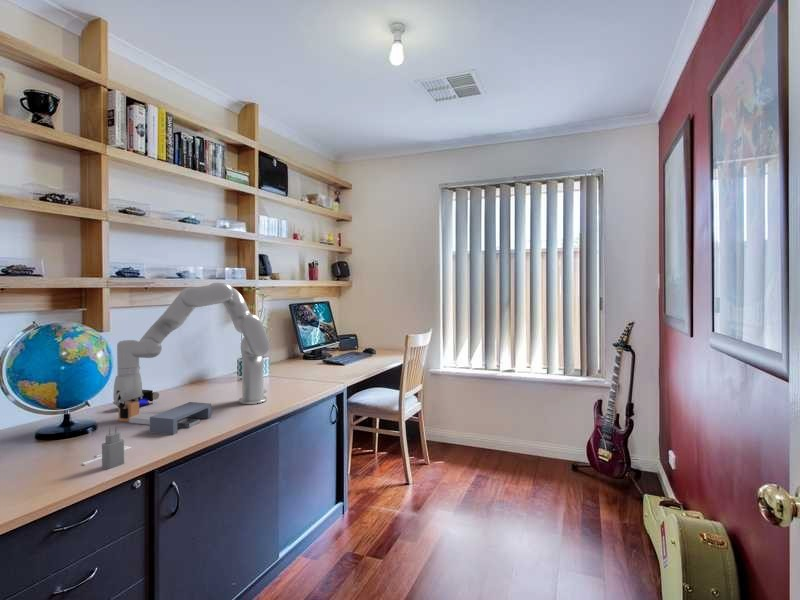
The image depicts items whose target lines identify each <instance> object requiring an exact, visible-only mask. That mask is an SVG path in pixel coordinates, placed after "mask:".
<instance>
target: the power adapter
mask: <svg viewBox="0 0 800 600" xmlns="http://www.w3.org/2000/svg"><path fill="white" fill-rule="evenodd" d="M108 429H109V431H108V434H106V435H105V439H104V440H105V442H103V443H101V454H102V459H101V467H102V469H104V470H110V469H114V468H116V467H119V466H122V465H124V464H125V451H124V446H125V440H124V439H123V438H121V431H118V429H117V425H116V424H115V428H114V429H115V431H114V432H111V426H109V428H108Z"/></svg>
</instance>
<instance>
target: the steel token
mask: <svg viewBox="0 0 800 600" xmlns="http://www.w3.org/2000/svg"><path fill="white" fill-rule="evenodd" d="M200 423H201V418H190V417H185V418H183V419H180V420H178V421H177V428H183V429H190V428H192V427H195V426H197V425H199V424H200Z"/></svg>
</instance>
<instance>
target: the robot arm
mask: <svg viewBox="0 0 800 600" xmlns="http://www.w3.org/2000/svg"><path fill="white" fill-rule="evenodd" d="M218 304H219V305H220V304H223V305H224V306H225V309H226V310H227V312H228V314H229V316H230V318H231V321H232V324H233V326H234V328H235V330H236V332H238V333H241V334H242V335H243V338H242V340H241V342H240V353H241V365H242V367H241V377H242V379H241V381H242V382H241V389H242V390H241V392H242V393H241V397H240V398H239V399H238V403H239V404H243V405H257V403H258V404H262V402H263V403H266V402H267V400H268V397H267V396H265V393H268V389H267V388H264V368H265V367H264V356H266V355H267V354H268V353H269V352H270V349H271V344H270V340H269V339H270V338H269V336H268V335H267V332H266V329H265V327H264V325H263V322H262V320H261V319H260V318H259V317H258V316H257V315H256V314H254V313H251V312H250V310H249V309H250V308H249V307H248V304H247V302H246V300H245V299H244V296H243V295H242V294H241V293H240V292H239V291H238V290H237V289H236V288H234V287H233V286H231V285H230V284H228V283H225V282H213V283H210V284H209V285H208V284H207V285H203V286H188V287H185V288H183V289H182V290H181V291H180V292H179V294H177V296H176V297H175V298H174V300H173V301H172V303H170V305H169V306H168V307H167V308H166V310H165V311H164V312H163V313H162V314H161V315H160V316H159V318H158V319H156V321H155V322H154V323H153V324H152V325H151V326H150V327H149V329H148V330H147V331H146V332H145V333H144V334H143V336H142V337H141V338H140V339H139V341H138V340H135V339H126V340H125V339H124V340H120V341H118V343H117V346H116V355H117V356H116V360H117V362H116V363H117V365H116V367H117V369H116V370H117V375H116V376H115V379H114V384H113V401H112V405H115V406H117V408H118V407H119V409H120V418H124V419H127V418H128V408H127V402H128V400H130V401H135V402H139V401H140V399H141V398H142V396H143V393H142V390H143V383H142V377H141V373H140V369H141V367H140V358H141V359H143V358H144V359H153V358H156V357H158V356H159V355H160V354H161V352H162V342H164V340H165V339H166V337H168V336H169V335H170V334H171V333H172V332H173V331H175V330H177V329H178V328H179V329H180V327H181V326H182V325H183V324H184V323H185V322H186V320H187V319H188V317H189V316H190V315H191V313H192V312H194V310H195V309H196V308H202V307H207V306H213V305H218ZM123 402H124V405H123Z"/></svg>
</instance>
